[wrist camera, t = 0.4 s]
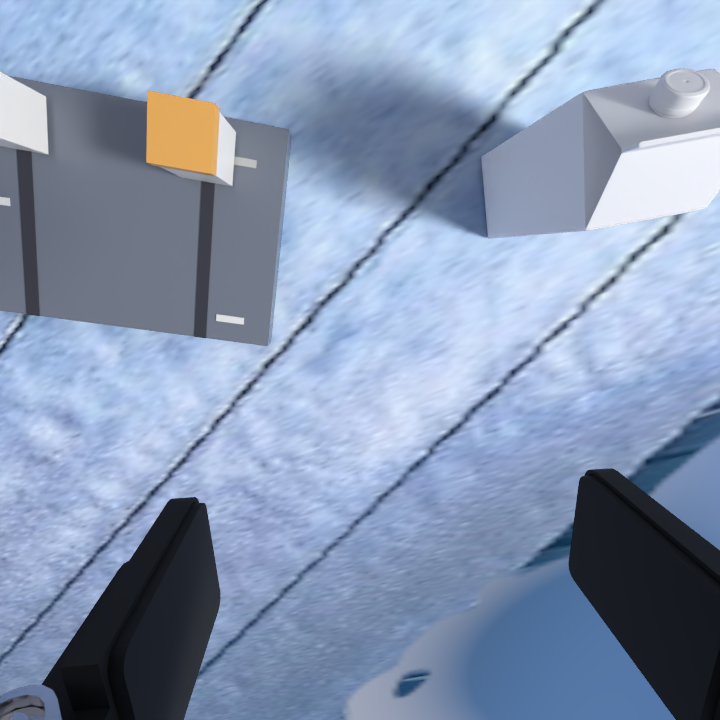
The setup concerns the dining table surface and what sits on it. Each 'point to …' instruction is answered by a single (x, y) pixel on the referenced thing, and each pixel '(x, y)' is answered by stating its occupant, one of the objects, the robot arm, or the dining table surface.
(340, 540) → the dining table surface
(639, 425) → the dining table surface
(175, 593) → the robot arm
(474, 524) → the dining table surface
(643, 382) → the dining table surface
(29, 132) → the block
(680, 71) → the milk carton
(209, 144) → the fader orange
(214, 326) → the console
